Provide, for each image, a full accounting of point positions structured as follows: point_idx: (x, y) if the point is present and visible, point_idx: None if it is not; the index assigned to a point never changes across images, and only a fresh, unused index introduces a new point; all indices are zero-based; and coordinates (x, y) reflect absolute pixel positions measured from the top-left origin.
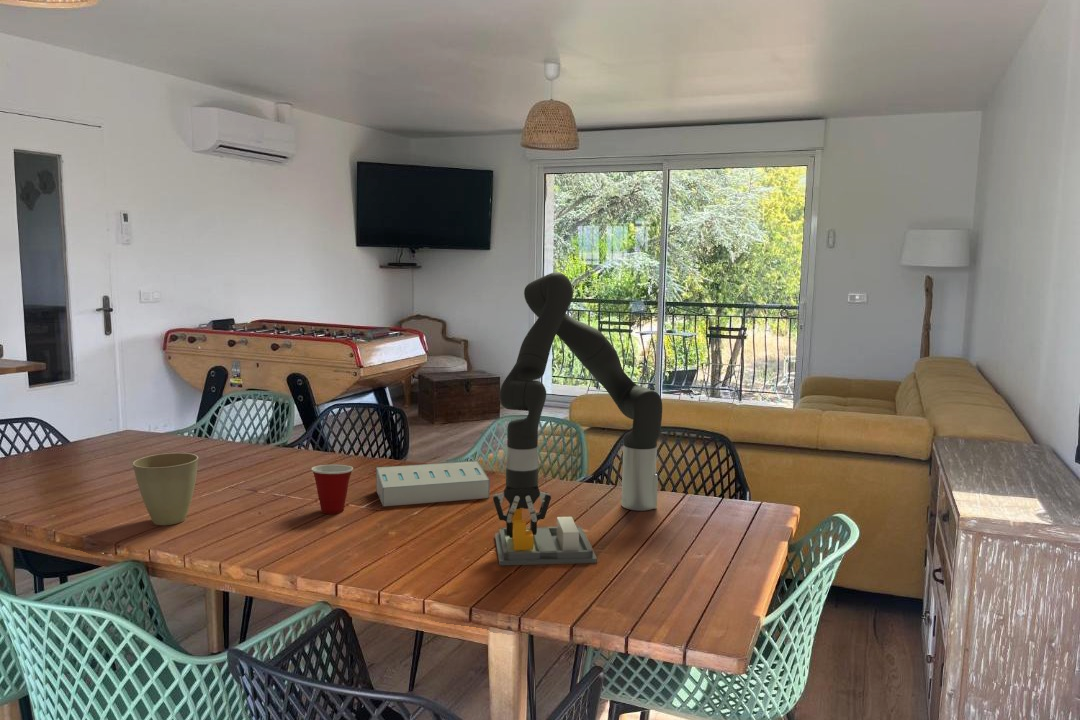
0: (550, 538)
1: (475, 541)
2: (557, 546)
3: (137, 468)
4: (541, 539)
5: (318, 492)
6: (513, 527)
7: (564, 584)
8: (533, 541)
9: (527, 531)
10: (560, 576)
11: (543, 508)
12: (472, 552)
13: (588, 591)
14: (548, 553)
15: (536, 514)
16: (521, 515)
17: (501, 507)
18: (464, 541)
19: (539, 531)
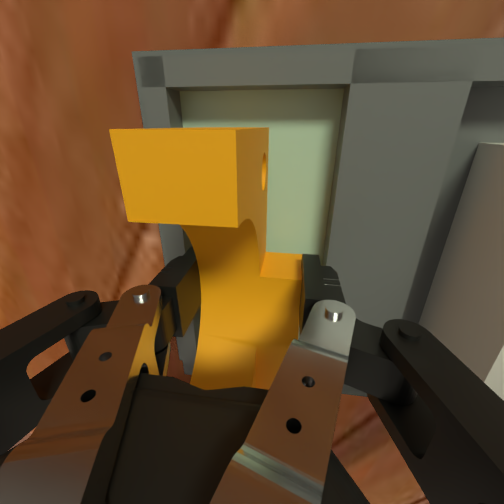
0: (406, 265)
1: (66, 119)
2: (420, 276)
3: None
4: (355, 271)
5: None
6: (204, 252)
7: (342, 461)
8: (323, 209)
9: (272, 354)
10: (346, 430)
11: (427, 479)
12: (85, 242)
13: (387, 493)
14: (342, 391)
15: (352, 367)
16: (246, 219)
17: (29, 344)
18: (21, 116)
19: (382, 147)
